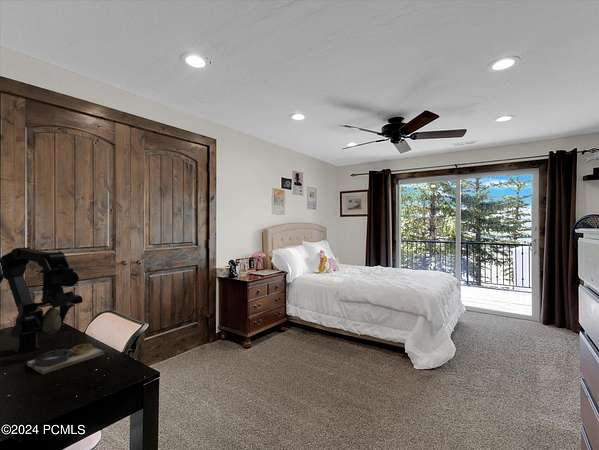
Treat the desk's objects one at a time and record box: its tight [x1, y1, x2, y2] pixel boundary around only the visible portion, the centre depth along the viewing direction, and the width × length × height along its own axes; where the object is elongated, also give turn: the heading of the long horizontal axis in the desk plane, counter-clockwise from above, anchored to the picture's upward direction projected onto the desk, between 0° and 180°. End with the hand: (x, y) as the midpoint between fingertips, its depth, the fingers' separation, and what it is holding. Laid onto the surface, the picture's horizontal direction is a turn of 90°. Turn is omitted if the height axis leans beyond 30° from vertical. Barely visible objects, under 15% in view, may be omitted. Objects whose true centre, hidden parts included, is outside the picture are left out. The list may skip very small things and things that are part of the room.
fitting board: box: [26, 346, 105, 375], centre depth 111 cm, size 13×19×1 cm
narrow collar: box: [71, 342, 94, 355], centre depth 116 cm, size 6×6×2 cm
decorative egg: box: [42, 306, 62, 335], centre depth 116 cm, size 6×6×10 cm
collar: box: [34, 348, 72, 367], centre depth 108 cm, size 10×10×2 cm
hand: (51, 325), depth 116 cm, fingers closed on decorative egg, 6 cm apart
